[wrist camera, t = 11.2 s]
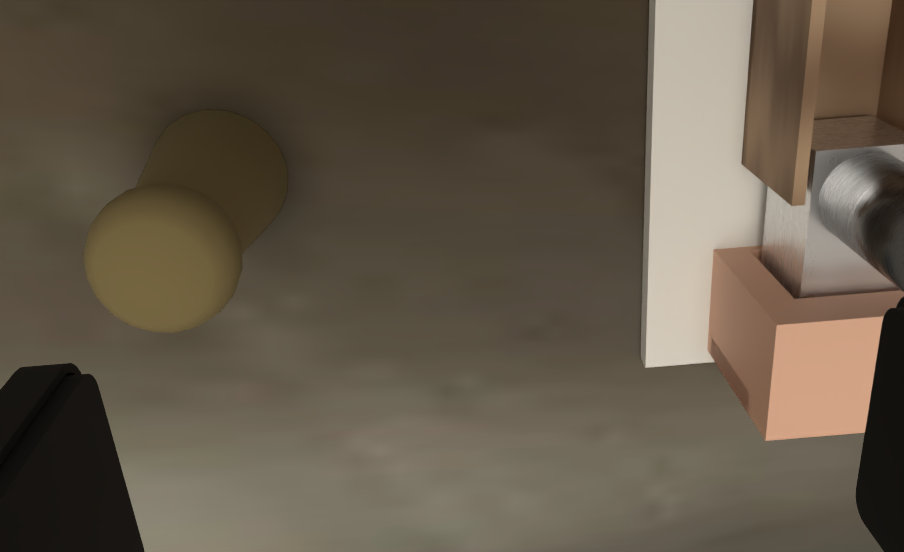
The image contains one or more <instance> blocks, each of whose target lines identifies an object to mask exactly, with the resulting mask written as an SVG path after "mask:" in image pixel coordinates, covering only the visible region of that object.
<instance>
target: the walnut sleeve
mask: <svg viewBox="0 0 904 552" xmlns="http://www.w3.org/2000/svg"><path fill="white" fill-rule="evenodd" d="M860 116H874V117H876V118H878V119H880V120H882V121H884V122H886V123H888V124H890V125H892V126H894V127H896V128H899V129H901V130H903V131H904V0H753V10H752V24H751V38H750V51H749V65H748V79H747V92H746V106H745V120H744V134H743V147H742V161H741V164H742V165H743V166H744V167H745V168H747V169H748V170H749V171H750V172H751V173H753V174H754V175H755V176H756V177H757V178H759V179H760V180H761V181H762V182H763V183H765V184H766V185H767V186H768V187H769V188H771V189H772V190H773V191H774V192H775V193H777V194H778V195H779V196H780V197H781V198H783V199H784V200H785V201H786V202H787V203H789V204H790V205H791V206H799V205H805V197H806V188H807V179H808V169H809V160H810V151H811V141H812V132H813V123H814V120H822V119H834V118H847V117H860Z"/></svg>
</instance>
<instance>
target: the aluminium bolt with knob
mask: <svg viewBox="0 0 904 552" xmlns="http://www.w3.org/2000/svg"><path fill="white" fill-rule="evenodd" d="M761 263H762V265H763V266H764V267H765V268H766V269H767V270H768V271H769V272H770V273H771V274H772V275H773V276H774V277H775V278H776V280H777V281H778V282H779V283H780V284H781V285H782V286H783V287H784V288H785V289H786V290H787V291H788V292H789V293H790V295H791V296H792V297H793V298H794V299H801V298H813V297H825V296H837V295H850V294H862V293H874V292H886V291H899V290H902V291H903V292H904V131H903V130H901V129H899V128H896V127H894V126H892V125H890V124H888V123H886V122H884V121H882V120H880V119H878V118H876V117H874V116H860V117H847V118H834V119H822V120H814V123H813V132H812V141H811V151H810V160H809V169H808V179H807V188H806V197H805V205H799V206H791V205H790V204H789V203H787V202H786V201H785V200H784V199H783V198H781V197H780V196H779V195H778V194H777V193H775V192H774V191H773V190H772V189H771V188H769V187H768V190H767V201H766V212H765V224H764V235H763V247H762V258H761Z"/></svg>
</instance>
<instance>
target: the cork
mask: <svg viewBox="0 0 904 552" xmlns="http://www.w3.org/2000/svg"><path fill="white" fill-rule="evenodd" d="M287 191H288V170H287V167H286V164H285V161H284V158H283V156H282V153H281V150H280V148H279V147H278V146H277V144H276V143H275V142H274V140H273V139H272V138H271V136H270V135H269V134H268V132H266V131H265V130H264V129H262V128H261V127H260V126H258V125H257V124H256V123H254V122H253V121H252V120H250V119H249V118H246V117H243V116H241V115H238V114H235V113H232V112H230V111H223V110H202V111H198V112H194V113H191V114H187V115H184V116H182V117H181V118H180V119H178V120H177V121H175V122H174V123H172V124H171V125H169V126H168V127H167V128H166V129H165V131H164V132H163V134H162V135H161V136H160V138H159V139H158V141H157V142H156V143H155V146H154V148H153V150H152V152H151V154H150V157H149V159H148V161H147V163H146V166H145V168H144V170H143V172H142V174H141V177H140V179H139V181H138V183H137V186H136V188H134V189H131V190H127V191H125V192H124V193H122V194H121V195H120V196H118V197H117V198H115V199H114V200H112V201H111V202H109V203H108V204H107V205H106V206H105V207H104V208H103V209H102V210H101V212H100V213H99V214H98V216H97V217H96V219H95V220H94V222H93V223H92V224H91V226H90V229H89V233H88V237H87V241H86V245H85V249H84V254H83V256H84V265H85V273H86V277H87V279H88V281H89V283H90V285H91V287H92V290H93V292H94V294H95V296H96V297H97V298H98V299H99V300H100V301H101V302H102V304H103V305H104V306H105V307H106V308H107V309H108V310H109V311H110V312H111V313H112V314H113V315H115V316H116V317H118V318H119V319H121V320H123V321H124V322H126V323H127V324H129V325H131V326H135V327H138V328H141V329H144V330H147V331H151V332H173V333H176V332H180V331H184V330H188V329H192V328H196V327H198V326H199V325H201V324H203V323H204V322H206V321H207V320H209V319H211V318H212V317H214V316H215V315H217V314H218V313H219V312H220V311H221V310H222V309H223V308H224V306H225V305H226V304H227V303H228V301H229V300H230V299H231V298H232V296H233V295H234V292H235V290H236V287H237V284H238V281H239V278H240V275H241V271H242V253H243V252H244V251H245V250H246V249H247V248H248V247H249V246H250V245H251V244H252V243H253V241H254V240H255V239H256V238H257V237H258V236H259V235H260V234H261V233H262V232H263V231H264V229H265V228H266V227H267V226H268V225H269V224H270V223H271V222H272V220H273V219H274V218H275V216H276V215H277V214H278V213H279V211H280V210H281V209H282V206H283V203H284V200H285V197H286V194H287Z"/></svg>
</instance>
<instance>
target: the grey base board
mask: <svg viewBox="0 0 904 552" xmlns="http://www.w3.org/2000/svg"><path fill="white" fill-rule="evenodd" d="M752 10H753V0H649V35H648V76H647V116H646V156H645V197H644V237H643V277H642V317H641V359H642V361H643V364H644V366H645V368H647V367H659V366H671V365H683V364H695V363H707V362H715V361H714V360H713V358H712V357H711V355H710V353H709V352H708V350H707V348H708V331H709V315H710V299H711V283H712V266H713V250H714V249H725V248H738V247H750V246H762V245H763V235H764V224H765V212H766V201H767V190H768V186H767V185H766V184H765V183H763V182H762V181H761V180H760V179H759V178H757V177H756V176H755V175H754V174H753V173H751V172H750V171H749V170H748V169H747V168H745V167H744V166H743V165H742V164H741V161H742V147H743V134H744V120H745V106H746V92H747V79H748V65H749V51H750V38H751V24H752Z"/></svg>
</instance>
